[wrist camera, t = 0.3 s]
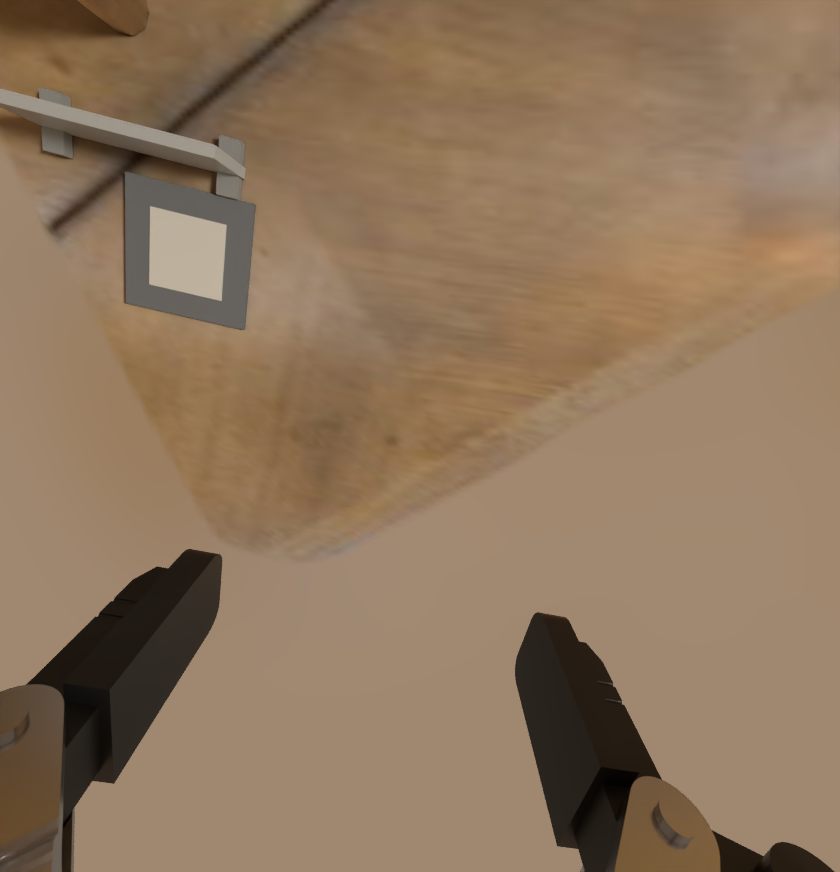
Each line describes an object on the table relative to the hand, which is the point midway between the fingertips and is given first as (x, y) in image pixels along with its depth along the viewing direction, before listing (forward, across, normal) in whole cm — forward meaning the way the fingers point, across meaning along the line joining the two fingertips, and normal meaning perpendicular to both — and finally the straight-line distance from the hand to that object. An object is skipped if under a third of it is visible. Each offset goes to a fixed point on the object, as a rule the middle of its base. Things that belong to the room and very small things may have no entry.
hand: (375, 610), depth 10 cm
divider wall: (+29, +24, -14) cm, 39 cm away
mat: (+28, +20, -7) cm, 35 cm away
